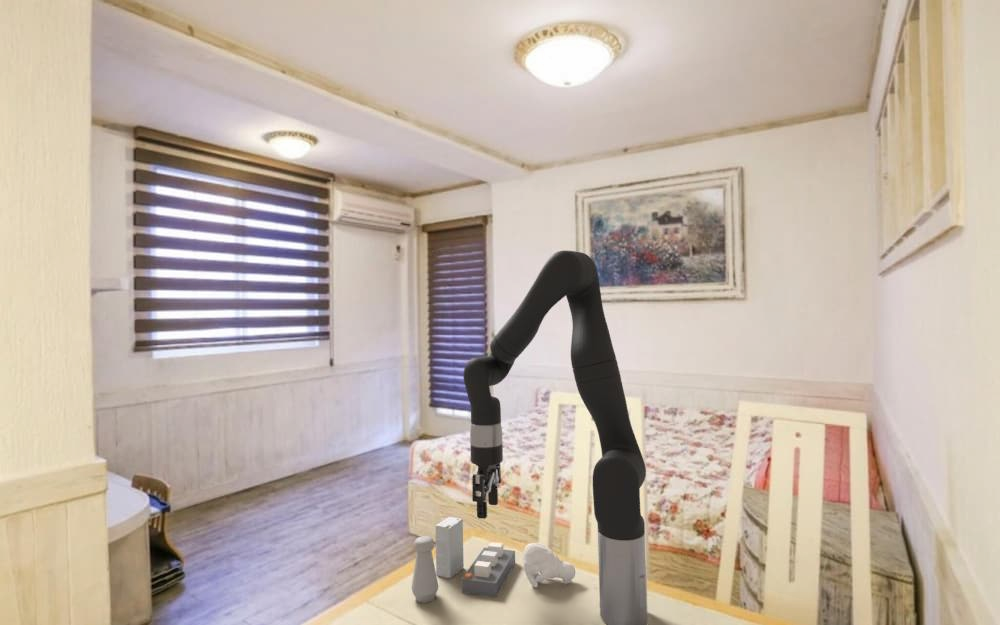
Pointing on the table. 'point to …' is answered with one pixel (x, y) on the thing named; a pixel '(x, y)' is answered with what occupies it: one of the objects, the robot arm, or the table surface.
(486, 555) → the block
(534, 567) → the whiskered white figurine
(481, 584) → the panel
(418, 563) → the salt shaker
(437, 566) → the skincare box
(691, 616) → the table surface
